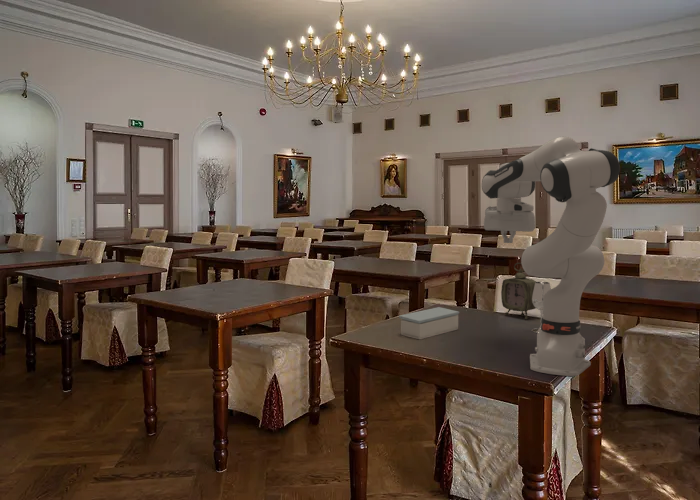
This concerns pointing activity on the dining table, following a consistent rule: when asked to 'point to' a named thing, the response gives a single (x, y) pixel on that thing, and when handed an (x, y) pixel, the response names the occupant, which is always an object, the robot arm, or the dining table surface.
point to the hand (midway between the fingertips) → (508, 242)
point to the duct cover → (428, 315)
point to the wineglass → (539, 298)
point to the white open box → (429, 327)
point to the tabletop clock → (518, 293)
